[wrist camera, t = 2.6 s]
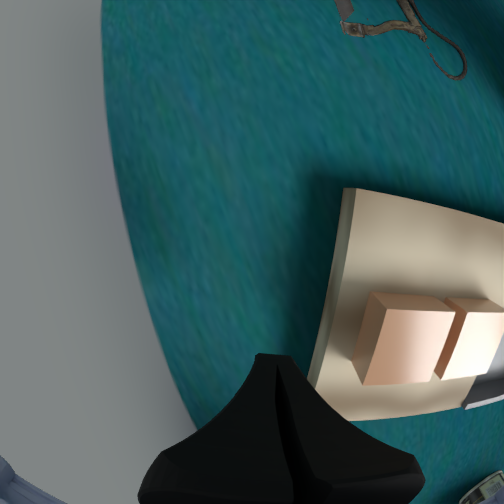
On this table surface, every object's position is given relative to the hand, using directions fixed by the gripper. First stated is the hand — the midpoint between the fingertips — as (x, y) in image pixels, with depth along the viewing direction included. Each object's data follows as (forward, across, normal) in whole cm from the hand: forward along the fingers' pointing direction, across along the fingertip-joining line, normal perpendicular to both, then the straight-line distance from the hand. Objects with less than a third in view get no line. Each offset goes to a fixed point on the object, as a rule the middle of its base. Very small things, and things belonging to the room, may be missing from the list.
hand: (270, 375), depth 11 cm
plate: (+8, -10, 0) cm, 13 cm away
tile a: (+5, -8, 0) cm, 9 cm away
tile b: (+5, -13, 0) cm, 14 cm away
